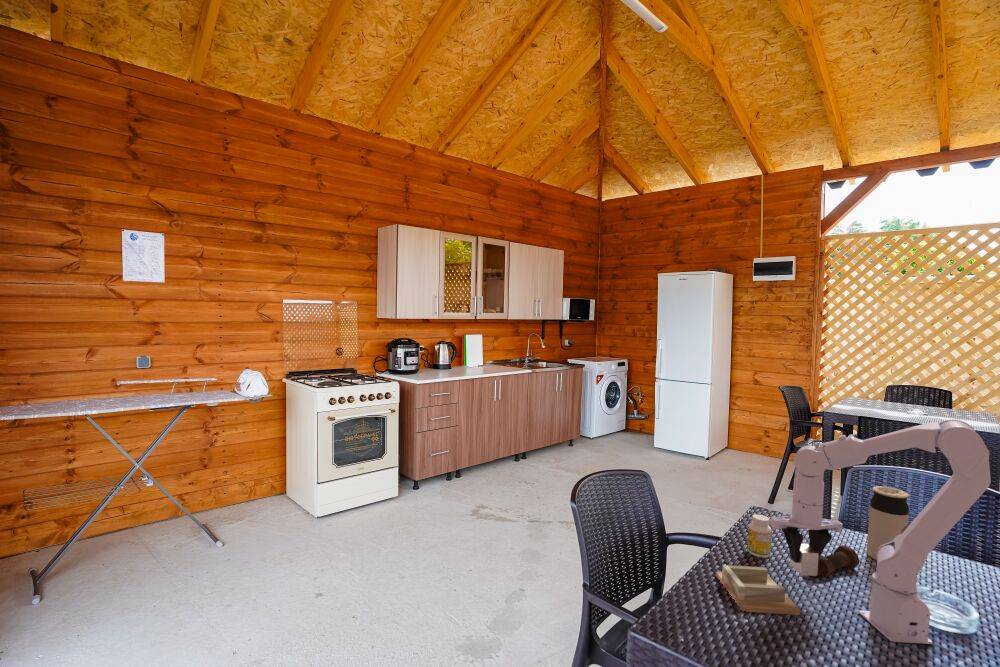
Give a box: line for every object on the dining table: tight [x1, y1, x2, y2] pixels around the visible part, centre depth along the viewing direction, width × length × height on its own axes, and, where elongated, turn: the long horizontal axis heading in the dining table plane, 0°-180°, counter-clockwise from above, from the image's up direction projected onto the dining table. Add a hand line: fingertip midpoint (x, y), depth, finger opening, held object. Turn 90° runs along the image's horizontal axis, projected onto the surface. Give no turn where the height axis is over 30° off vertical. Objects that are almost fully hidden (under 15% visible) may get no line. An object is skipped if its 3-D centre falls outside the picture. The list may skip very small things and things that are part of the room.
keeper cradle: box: [715, 564, 802, 616], centre depth 112 cm, size 14×12×4 cm
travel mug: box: [866, 485, 910, 561], centre depth 131 cm, size 8×8×18 cm
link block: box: [789, 543, 819, 577], centre depth 111 cm, size 4×4×5 cm
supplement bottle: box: [747, 513, 773, 559], centre depth 131 cm, size 5×5×10 cm
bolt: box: [816, 544, 861, 578], centre depth 123 cm, size 6×5×15 cm
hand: (803, 561), depth 111 cm, fingers closed on link block, 3 cm apart
